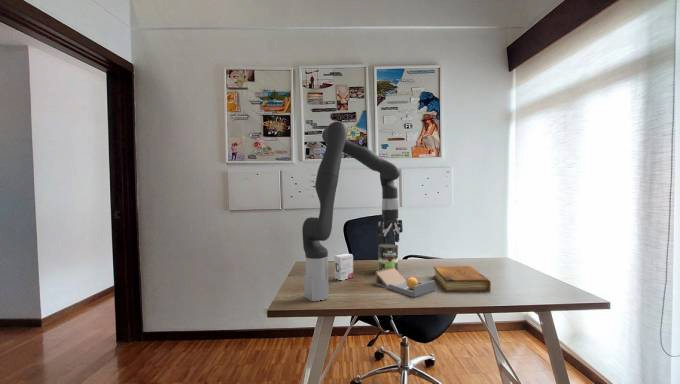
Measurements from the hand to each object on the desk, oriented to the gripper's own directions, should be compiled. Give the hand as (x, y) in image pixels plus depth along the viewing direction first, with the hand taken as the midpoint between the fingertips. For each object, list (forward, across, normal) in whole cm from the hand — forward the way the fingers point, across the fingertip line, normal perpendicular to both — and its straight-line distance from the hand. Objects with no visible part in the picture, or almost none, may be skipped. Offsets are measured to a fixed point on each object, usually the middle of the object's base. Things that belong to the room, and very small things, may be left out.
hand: (390, 243), depth 153 cm
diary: (+20, -24, +20) cm, 37 cm away
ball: (+16, 0, +13) cm, 20 cm away
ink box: (+19, +12, -20) cm, 30 cm away
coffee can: (+19, -13, -14) cm, 27 cm away
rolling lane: (+19, 0, +8) cm, 21 cm away
